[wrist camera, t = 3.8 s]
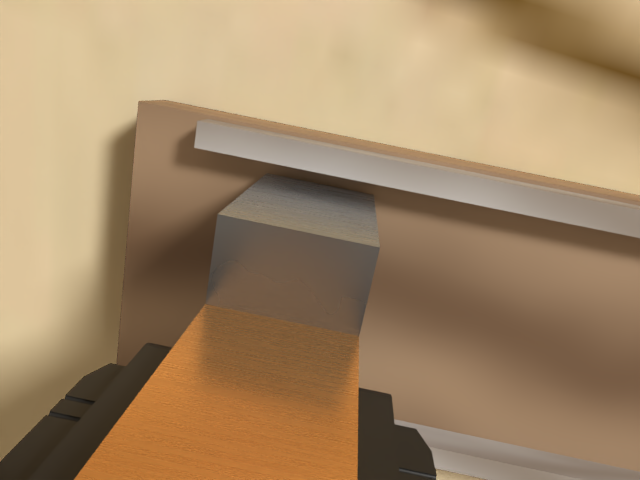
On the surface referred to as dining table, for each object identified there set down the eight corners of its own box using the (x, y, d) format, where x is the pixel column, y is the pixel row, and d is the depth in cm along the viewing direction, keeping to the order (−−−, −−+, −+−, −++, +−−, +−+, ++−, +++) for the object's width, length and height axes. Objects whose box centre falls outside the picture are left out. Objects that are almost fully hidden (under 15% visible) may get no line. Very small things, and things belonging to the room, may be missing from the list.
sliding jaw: (267, 172, 14) (-23, 413, 3) (373, 194, 14) (411, 506, 3) (233, 379, 16) (-20, 942, 5) (327, 399, 16) (259, 1009, 5)
